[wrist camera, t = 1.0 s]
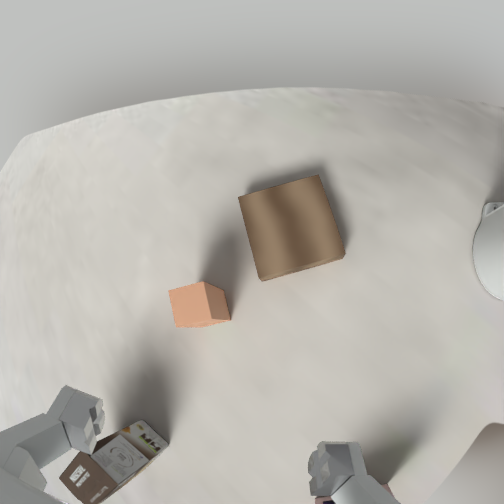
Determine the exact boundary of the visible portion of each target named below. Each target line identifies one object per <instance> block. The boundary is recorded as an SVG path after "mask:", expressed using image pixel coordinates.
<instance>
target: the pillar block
mask: <svg viewBox="0 0 504 504" xmlns="http://www.w3.org/2000/svg"><path fill="white" fill-rule="evenodd" d="M169 296H170V300H171V305H172V310H173V315H174V320H175V324H176V327H205V326H209V325H213V324H217V323H221V322H226V321H230V320H231V318H230V314H229V310H228V306H227V302H226V298H225V294H224V290H222V289H220V288H218V287H215V286H213V285H211V284H208V283H206V282H204V281H202V282H199V283H195V284H191V285H188V286H184V287H180V288H176V289H173V290H169Z"/></svg>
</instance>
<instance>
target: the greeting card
mask: <svg viewBox="0 0 504 504" xmlns="http://www.w3.org/2000/svg"><path fill="white" fill-rule="evenodd" d="M381 486H382V487H383V488H385V489H386V490H387V491H388V492H389V493H390V494H391V495H392V496H393V494H392V492H391V490H390V488H389V486H388V484H384V485H381ZM393 497H394V496H393ZM394 498H395V497H394ZM315 504H336V503H335V502H334V501H333V499H332V498H331V496H328V497H321V498H315Z"/></svg>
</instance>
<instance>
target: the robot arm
mask: <svg viewBox="0 0 504 504" xmlns="http://www.w3.org/2000/svg"><path fill="white" fill-rule="evenodd" d="M494 209H495V210H494ZM473 259H474V264H475V269H476V272H477V274H478V277H479V279H480V281H481V283H482V284H483V286H484V287H485V289H486V290H487V291H488V292H489V293H490V294H491V295H493V296H494V297H496V298H498V299H500V300H503V301H504V202H493V203H487V204H485V205H484V207H483V212H482V221H481V224H480V226H479V227H478V229H477V232H476V234H475V238H474V243H473ZM102 406H103V401H102V399H100V398H98V397H95V396H92V395H89V394H87V393H84V392H82V391H79V390H77V389H74V388H72V387H69V386H67V385H65V386H64V387H63V388H62V389H61V391H60V393H59V394H58V396H57V397H56V399H55V401H54V402H53V404H52V406H51V407H50V409H49V411H48V412H47V414H44V413H42V414H40V415H38V416H36V417H33V418H31V419H29V420H27V421H24V422H22V423H20V424H18V425H15V426H13V427H11V428H8V429H6V430H4V431H1V432H0V504H69V503H67V502H64V501H62V500H60V499H58V498H56V497H54V496H51V495H49V494H47V493H45V492H43V491H44V489H45V486H46V484H47V482H46V479H45V478H44V476H43V475H42V473H41V472H40V470H39V469H41V468H43V467H44V466H46V465H47V464H49V463H50V462H52V461H53V460H55V459H57V458H58V457H60V456H61V455H63V454H64V453H66V452H67V451H69V450H70V449H71V448H74V449H76V450H79V451H82V452H84V453H87V454H90V455H92V452H93V450H94V448H95V445H96V443H97V440H96V436H97V435H98V434H100V433H101V431H102V429H103V425H104V421H105V413H104V411H103V410H102V409H101V408H102ZM317 449H318V450H316V451H314V452H313V453H312V454H311V456H310V458H309V462H308V473H309V474H310V475H311V476H312V477H313V478H312V479H311V481H310V482H309V483H310V492H311V496H331V498H332V499H333V501H334V502H335V503H336V504H401V503H399V502H398V501H397V500H396V499H395V498H394V497H393V496H392V495H391V494H390V493H389V492H388V491H387V490H386V489H385V488H383V487H382V486H381V485H380V484H379V483H378V482H377V481H376V480H375V479H374V478H373V477H372V476H371V475H367V471H366V467H365V463H364V459H363V456H362V452H361V448H360V444H359V443H358V442H328V441H322V442H320V443H319V444H318V446H317Z"/></svg>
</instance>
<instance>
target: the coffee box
mask: <svg viewBox="0 0 504 504" xmlns="http://www.w3.org/2000/svg"><path fill="white" fill-rule="evenodd" d="M168 446H169V444H168V443H167V442H166V441H165V440H164V439H163V438H161V437H160V436H159V435H158V434H157V433H156V432H155V431H154V430H153V429H152V428H151V427H150V426H149V425H148V424H147V423H146V422H144V421H143V420H140V421H138V422H136V423H134V424H132V425H130V426H128V427H126V428H124V429H122V430H120V431H118V432H116V433H114V434H112V435H110V436H108V437H106V438H103V439H101V440H99V441H97V443H96V445H95V448H94V450H93V452H92V455H90V454H87V453H84V452H82V451H80V452H79V453H78V454H77V456H76V457H75V458H74V459H73V461H72V462H71V463H70V464H69V466H68V467H67V468H66V470H65V471H64V472H63V473H62V474H61V476H60V477H59V479H60V480H61V481H62V482H63V484H64V485H65V486H66V487H67V488H68V489H69V490H70V491H71V493H72V494H73V495H74V496H75V497H76V498H77V499H78V500H80V501H81V502H82V503H83V504H100V503H102V502H103V501H104V500H106V499H107V498H108V497H110V496H111V495H112V494H114V493H115V492H116V491H118V490H119V489H120V488H122V487H123V486H124V485H126V484H127V483H128V482H129V481H131V480H132V479H133V478H134V477H136V476H137V475H138V474H139V473H141V472H142V471H143V470H144V469H145V468H146V467H148V466H149V465H150V464H151V463H152V462H153V461H154V460H155V459H156V458H157V457H158V456H159V455H160V454H161V453H162V452H163V451H164V450H165V449H166V448H167V447H168Z"/></svg>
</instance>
